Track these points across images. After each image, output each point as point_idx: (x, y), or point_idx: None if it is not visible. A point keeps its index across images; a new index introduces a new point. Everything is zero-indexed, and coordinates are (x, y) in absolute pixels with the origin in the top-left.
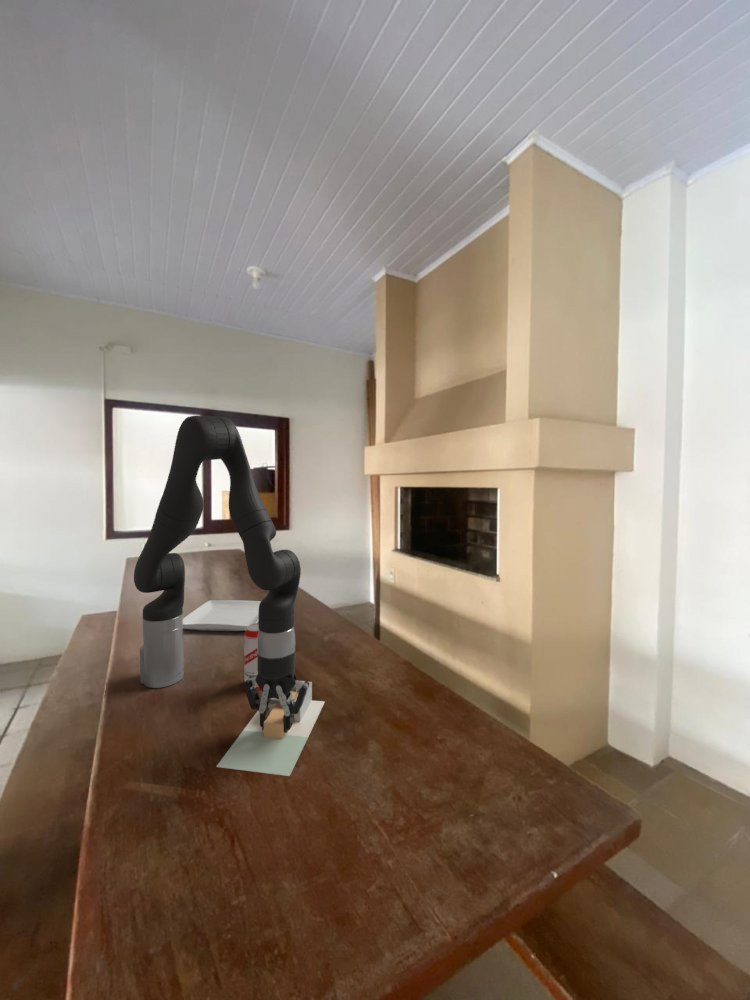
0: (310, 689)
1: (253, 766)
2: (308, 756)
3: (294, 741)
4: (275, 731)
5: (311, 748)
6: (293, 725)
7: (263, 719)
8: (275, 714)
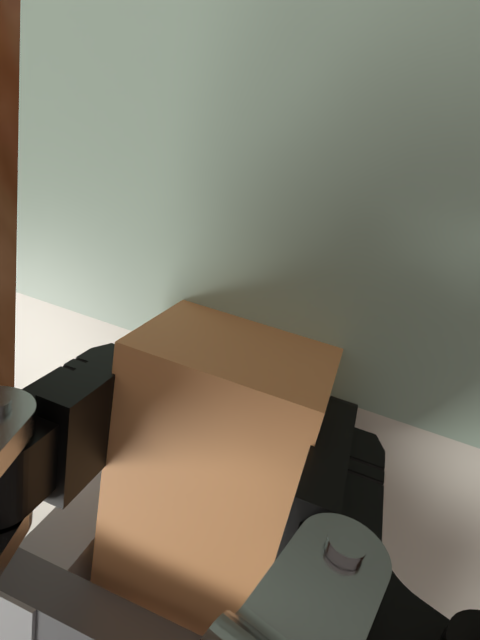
0: None
1: None
2: (6, 135)
3: (89, 254)
4: (218, 335)
5: (8, 218)
6: None
7: (332, 460)
8: (219, 516)
